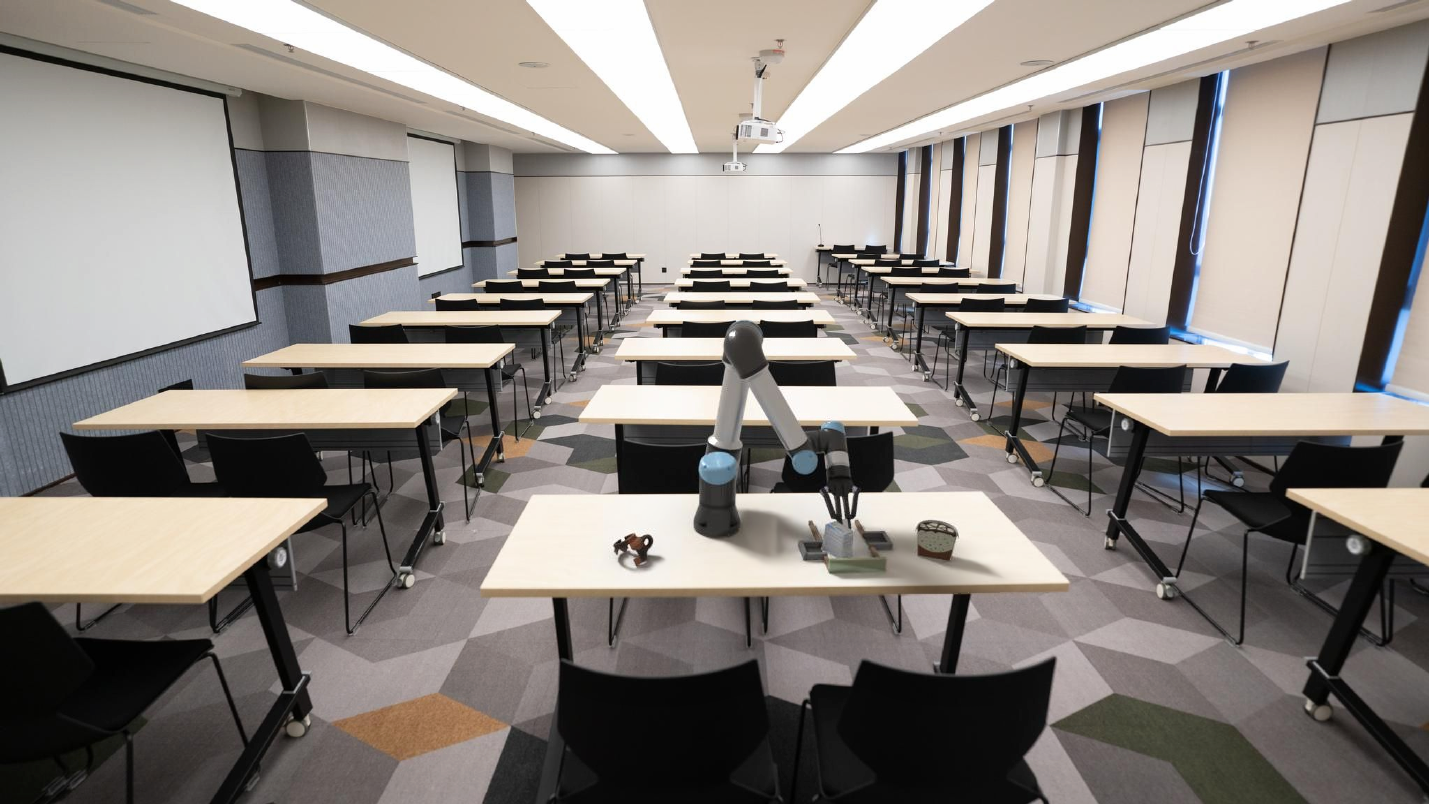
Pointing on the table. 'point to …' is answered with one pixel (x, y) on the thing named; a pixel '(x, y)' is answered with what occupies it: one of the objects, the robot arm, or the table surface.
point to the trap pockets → (814, 552)
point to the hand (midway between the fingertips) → (846, 541)
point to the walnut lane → (852, 564)
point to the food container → (936, 539)
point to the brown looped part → (635, 546)
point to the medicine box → (838, 540)
